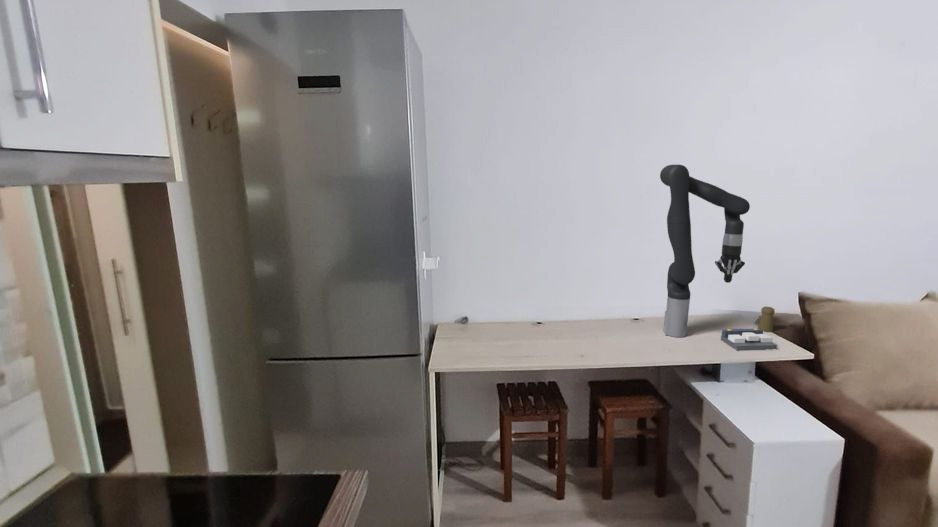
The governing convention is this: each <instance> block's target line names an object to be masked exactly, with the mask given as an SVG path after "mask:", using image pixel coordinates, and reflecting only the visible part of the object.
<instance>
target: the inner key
mask: <svg viewBox="0 0 938 527" xmlns="http://www.w3.org/2000/svg"><path fill="white" fill-rule="evenodd" d="M728 340H730V341H732V342H733V343H745V338H744V337H742V336H740V335H728Z"/></svg>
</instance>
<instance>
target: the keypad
mask: <svg viewBox="0 0 938 527" xmlns="http://www.w3.org/2000/svg"><path fill="white" fill-rule="evenodd" d="M746 332H753V333H755V334H764V332H763V330H762V329H760V328H758V327H755V328H723V329H722V330H721V336H720V341H722V342H723V343H724V344H727V346H730V347H731V348H732V349H733V350H736V351H767V350H766V349H776V350H777V347H778V344H776V343H774V342H773V341H772V342H765V343H762V342H760V341H748V340H746V339H745V343H733V342H732V341H730V340H728V335H740V336H742V333H746Z"/></svg>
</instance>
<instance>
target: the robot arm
mask: <svg viewBox="0 0 938 527" xmlns="http://www.w3.org/2000/svg"><path fill="white" fill-rule="evenodd" d="M659 175H660V176H659V178H660V181H661V182H662V183H663V185H664V186H667V187H669V191H670V204H669V208H668V212H667V217H666V227H667V234H668V240H669V242H670V246H671V248H672V251H673V258H674V259H673V260H674V261H673V262H672V263H670V265H669V267H668V270H667V281H666V282H667V283H666V289H667V299H666V310H665V311H664V316H663V317H664V318H663V319H664V321H663V327H662V328H663V329H662V331H663V333H664V335H665V336H669V337H673V338H685V337H686V336H687V332H688V322H689V313H690V312H689V311H690V305H691V304H690V302H691V290H690V287H689V286H690V285H689V284H690V283H692V282H693V280H694V279H695V277H696V270H695V264H694V259H693V257H694V256H693V251H692V250H693V249H692V247H693V246H692V225H691V213H690V201H689V200H690V197H689V196H690V195H689V193H690V194H692V195H694V196H696V197H698V198H700V199H702V200H704V201H706V202H708V203H710V204H712V205H715V206H716V207H722V208H723V209H724V210H723V211H724V220H725V226H724V234H723V238H722V247H721V256H720V257H719V258H720V259H719V260H715V261H714V264H715V265H716V267H717V269H718V270H719V271H720V272H721V273H722V274H723V275H724V277H723V280H724V282H725V283H730V284H731V282H732V280H733V274H737V273H738V272H739V271H740V270H741V269H742V268H743V267H744V266H745V264H746V262H745V261H743V260H742V258H741V253H742V247H743V239H744V238H743V237H744V236H743V235H744V234H743V233H744V226H745V223H744V221H743V220H742V219H741V216H743V215H745V214H747V213H748V212H749V210H750V208H751V206H750V202H749V201H748V200H747V199H746V198H744V197H742V196H739V195H736V194H733V193H730V192H728V191H726V190H724V189H723V188H720V187H719V186H717V185H714V184H711V183H709V182H706V181H702V180H700V179H697V178H694V177H692V176H690V173H689V170H688V168H687V167H686V166H685V165H684V164H668V165H666V166H664V167H663V168H662V169H661V171H660V174H659Z"/></svg>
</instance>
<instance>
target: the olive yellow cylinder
mask: <svg viewBox="0 0 938 527" xmlns="http://www.w3.org/2000/svg"><path fill="white" fill-rule="evenodd" d="M760 311H761V313H762V314H761V317H760V320H759V323H758V327H757V328H760V329H762V330H763V331H764V332H763V333H773V332H774V331H773V330H774V328H773V327H774V326H773V325H774V322H773V321H774V318H773V315H774V314H775V309H774V308H773V307H771V306H763V307H761V309H760Z"/></svg>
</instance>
